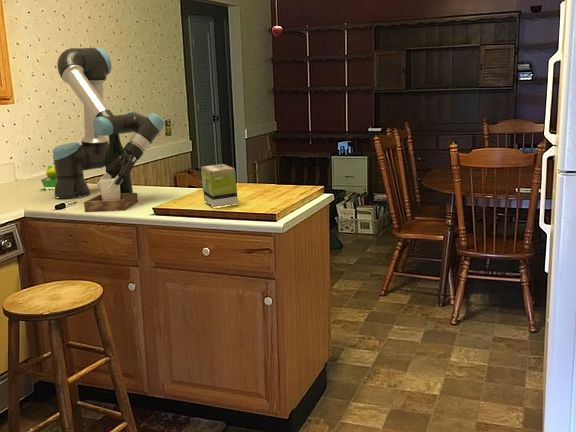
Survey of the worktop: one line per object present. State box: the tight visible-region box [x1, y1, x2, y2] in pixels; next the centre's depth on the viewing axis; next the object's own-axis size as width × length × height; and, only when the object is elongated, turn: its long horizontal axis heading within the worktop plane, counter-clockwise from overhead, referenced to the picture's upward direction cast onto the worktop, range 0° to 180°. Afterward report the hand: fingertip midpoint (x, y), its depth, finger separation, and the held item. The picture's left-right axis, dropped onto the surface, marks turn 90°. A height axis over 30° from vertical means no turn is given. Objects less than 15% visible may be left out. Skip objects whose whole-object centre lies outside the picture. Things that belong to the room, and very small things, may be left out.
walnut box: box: [83, 192, 139, 213], centre depth 252 cm, size 16×16×4 cm
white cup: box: [98, 178, 121, 201], centre depth 251 cm, size 8×8×10 cm
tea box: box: [200, 163, 239, 207], centre depth 243 cm, size 15×10×15 cm
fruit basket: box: [40, 165, 57, 188], centre depth 308 cm, size 11×9×11 cm
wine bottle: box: [105, 134, 134, 193], centre depth 272 cm, size 10×10×33 cm
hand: (104, 189), depth 250 cm, fingers open, 13 cm apart
